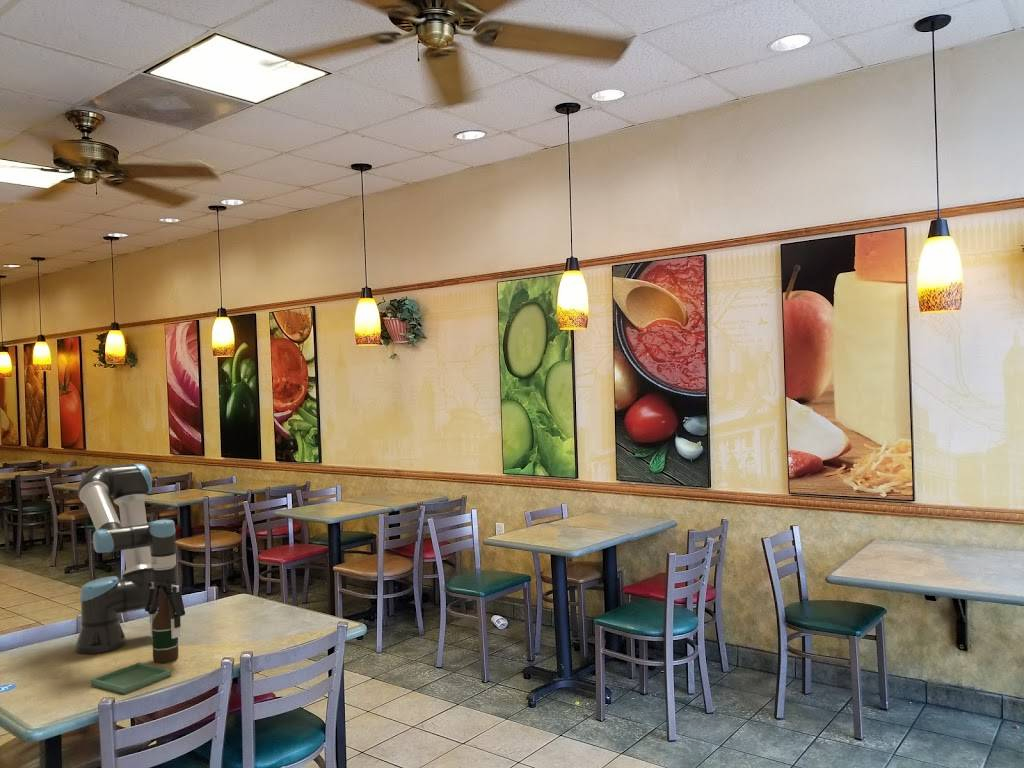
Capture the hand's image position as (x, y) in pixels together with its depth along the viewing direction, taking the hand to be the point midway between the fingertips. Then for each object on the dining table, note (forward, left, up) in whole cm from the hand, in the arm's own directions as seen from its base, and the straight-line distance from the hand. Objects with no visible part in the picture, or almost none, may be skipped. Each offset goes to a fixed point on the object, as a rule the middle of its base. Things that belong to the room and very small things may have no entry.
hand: (165, 635), depth 256 cm
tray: (+6, -17, -8) cm, 20 cm away
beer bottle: (0, 0, -8) cm, 8 cm away
